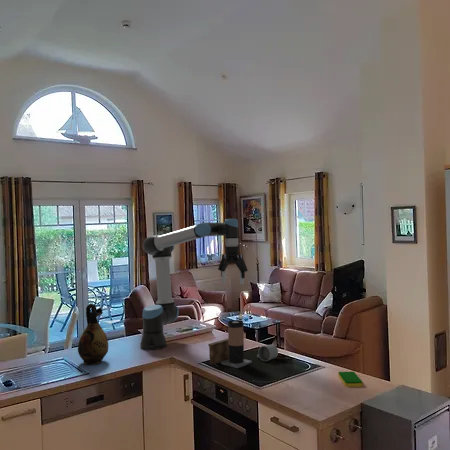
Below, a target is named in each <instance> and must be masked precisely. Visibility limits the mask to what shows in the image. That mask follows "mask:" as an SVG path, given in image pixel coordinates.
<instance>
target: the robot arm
mask: <svg viewBox="0 0 450 450" xmlns="http://www.w3.org/2000/svg"><path fill="white" fill-rule="evenodd" d="M221 236H224V239H225V240H224V242H225V244H224V245H225V248H224V249H225V254H224V253H223V254H221V260H220V262H219V265H218V268H217V270H218V271H220V277H221V284H224V283H225V284H226V283H227V271H226V269H227V268H228V266H229V264H230V263H234V264H235V265H236V267H237V268H238V270H239V285H244V284H245V276H246V273H247V272H248V271H249V269H248V267H247V265H246V262H245V260H244V255H243V254H239V252H240V249H239V248H240V247H239V221H238V219H237V218H225V219H224V222H206V221H205V222H199V223H197V224H196V225H191V226H188V227H185V228H182V229H178V230H175V231H172V232H168V233H164V234H155V235H150V236H147V237H146V238H145V239H144V240H143V243H142V248H143V250H144V252H145V253H146V254H147V255H150V256H152V260H154V263H155V276H156V279H155V280H156V291H157V293H156V295H157V301H155V304H152V305H147V306H145V307H144V308H143V309H142V336H141V340H140V345H139V346H140V347H139V348H140V349H141V350H145V351H153V350H161V349H164V348H166V347H167V345H168V344H167V340H166V336H165V333H164V326H166V325H169V324H172V323H174V322H176V320H177V319H178V317H179V313H180V311H179V307H178V306H177V305H176V303H175V299H173V295H172V294H173V293H172V281H171V279H172V278H171V265H170V264H171V263H170V259H171V258H172V252H173V251H174V249H175V246H176V245H180V244H183V243H188V242H190V241H195V240H197V239H201V238H205V237H221Z"/></svg>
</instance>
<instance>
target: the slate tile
mask: <svg viewBox="0 0 450 450" xmlns="http://www.w3.org/2000/svg"><path fill="white" fill-rule="evenodd" d="M252 363H253V361H252V360H249V359H246V358H244V361H243V362H242V363H231V362H230V361H229V359H228V360H225V361H222V362H220V364H221V365H224V366H227V367H231V368H235V369H239V368H242V367H245V366H247V365H250V364H252Z"/></svg>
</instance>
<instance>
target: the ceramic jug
mask: <svg viewBox="0 0 450 450" xmlns="http://www.w3.org/2000/svg"><path fill="white" fill-rule="evenodd" d="M103 313H104V312H103V309H102V307H98V308H97V306H96V304H93V303H89V304H87V306H86V308H85V314H86V315H85V317H86V323H87V325H86V327H85V329H84V330H83V332H82V333H81V335H80V337H79V340H78V344H77V352H78V353H77V354H78V355H79V357H80V358H81V360H82V361H83V364H84V365H87V366H91V365H93V366H94V365H98V364H102V362H103V359H104V358H105V357H106V355H107V353H108V352H109V351H108V350H109V340H108V337H107V334H106V333H105V331H104V329H103V327H102V326H101V325H100V323H99V322H98V321H99V320H98V317H100V316H102V314H103Z"/></svg>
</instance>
